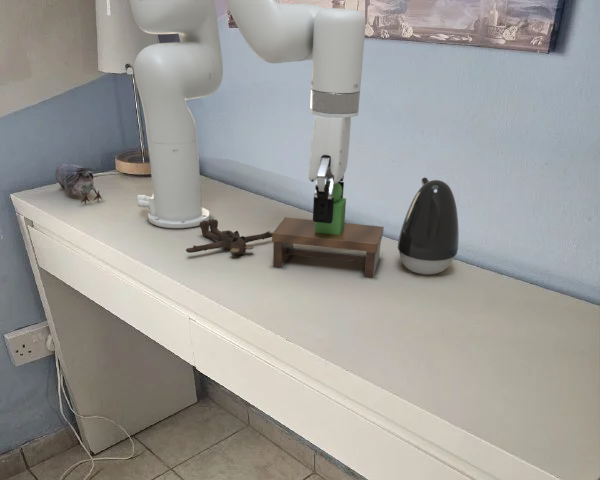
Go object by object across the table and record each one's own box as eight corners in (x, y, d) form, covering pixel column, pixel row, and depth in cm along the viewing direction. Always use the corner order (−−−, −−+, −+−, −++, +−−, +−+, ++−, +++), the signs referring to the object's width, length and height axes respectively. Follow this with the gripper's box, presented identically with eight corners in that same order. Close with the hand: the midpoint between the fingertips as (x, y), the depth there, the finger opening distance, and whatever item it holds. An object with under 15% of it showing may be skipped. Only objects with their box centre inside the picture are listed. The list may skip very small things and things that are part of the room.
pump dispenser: (439, 256, 114) (452, 171, 105) (463, 278, 105) (480, 187, 97) (386, 259, 112) (396, 173, 103) (407, 282, 103) (419, 190, 95)
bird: (73, 186, 145) (67, 154, 141) (106, 201, 136) (100, 167, 132) (51, 190, 142) (44, 157, 138) (83, 206, 133) (77, 171, 129)
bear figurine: (248, 211, 123) (286, 225, 112) (249, 233, 125) (287, 248, 114) (163, 225, 115) (195, 242, 104) (166, 248, 117) (198, 267, 106)
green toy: (314, 232, 105) (316, 182, 100) (319, 224, 108) (321, 176, 104) (340, 235, 104) (343, 185, 99) (344, 227, 108) (347, 178, 103)
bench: (271, 266, 108) (271, 233, 104) (284, 249, 115) (284, 217, 111) (374, 278, 104) (377, 243, 101) (380, 259, 112) (383, 226, 108)
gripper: (321, 93, 103) (316, 196, 112) (298, 110, 89) (295, 227, 98) (366, 96, 101) (357, 200, 111) (350, 114, 88) (341, 232, 97)
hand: (328, 213), depth 105 cm, fingers open, 9 cm apart
